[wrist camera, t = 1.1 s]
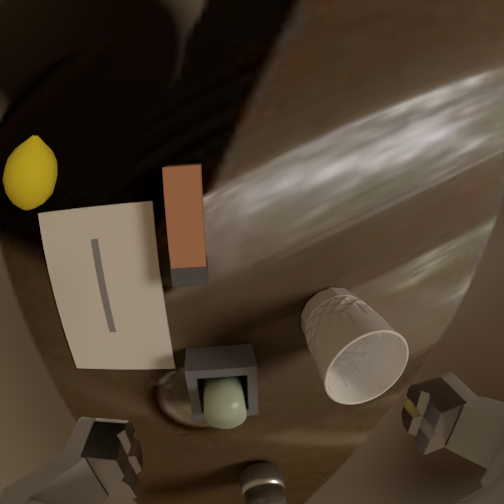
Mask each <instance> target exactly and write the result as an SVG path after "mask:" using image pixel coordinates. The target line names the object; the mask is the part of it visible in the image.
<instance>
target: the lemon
mask: <svg viewBox="0 0 504 504" xmlns="http://www.w3.org/2000/svg"><path fill="white" fill-rule="evenodd" d="M56 179H57V160H56V158H55V156H54V153H53V151H52V150H51V149H50V148H49V147H48V146H47V145H46V144H45V143H44V142H43V141H42V140H41V139H40V138H39V137H38V136H37V135H33V136H31V137H30V138H29V139H27V140H26V141H25V142H23V143H22V144H21V145H19V146H18V147H17V148H15V150H14V151H13V152H12V154H11V155H10V156H9V158H8V160H7V163H6V166H5V170H4V175H3V184H4V188H5V192H6V194H7V196H8V197H9V199H10V200H11V202H12V203H13V204H15V205H16V206H18V207H19V208H21V209H23V210H31V209H34V208H36V207H38V206H39V205H41V204H43V203H44V202H45V201H46V200H47V199H48V198H49V197H50V196H51V194H52V193H53V189H54V186H55V183H56Z"/></svg>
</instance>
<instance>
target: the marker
mask: <svg viewBox="0 0 504 504" xmlns="http://www.w3.org/2000/svg"><path fill="white" fill-rule="evenodd" d="M162 171H163V187H164V201H165V214H166V225H167V236H168V246H169V256H170V265H171V268H170V271H171V280H172V287H173V286H190V285H206V284H208V263H207V255H206V243H205V227H204V211H203V192H202V171H201V164H185V165H172V166H166V167H163V168H162Z"/></svg>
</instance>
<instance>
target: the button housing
mask: <svg viewBox="0 0 504 504" xmlns="http://www.w3.org/2000/svg"><path fill="white" fill-rule="evenodd" d="M184 373H185V378H186V383H187V389H188V394H189V399H190V404H191V409H192V413H193V418H194V419H205V418H204V389H201V382H200V378H216V377H229V376H241V375H244V382H245V386H242V389H243V395H244V401H245V407H246V413H247V416H249V415H258V370H257V362H256V358H255V354H254V350H253V345H252V344H240V345H227V346H213V347H197V348H186V355H185V368H184Z"/></svg>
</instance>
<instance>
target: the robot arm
mask: <svg viewBox="0 0 504 504" xmlns="http://www.w3.org/2000/svg"><path fill="white" fill-rule="evenodd" d="M407 397H408V398H409V400H408V402H407V403H406V404H405V405H404V407H403V411H402V421H403V425H404V427H405V429H406V430H407V432H408V433H410V434H413V435H415V441H414V442H415V443H416V444H417V446H418V447H419V449H420V450H421V452H422V453H423V454H424V455H425V454H428V453H430V452H433V451H435V450H438V449H440V448H443V447H445V446H446V448H447V449H449V450H451V451H453V452H455V453H457V454H459V455H461V456H463V457H465V458H467V459H469V460H471V461H473V462H475V463H477V464H479V465H481V466H483V467H485V468H487V469H488V470H487V472H486V473H485V475H484V476H483V478H482V480H481V483H482V485H483V486H484V487H483V488H481V489H480V490H478V491H477V492H475V493H473V494H471V495H470V496H468V497H466V498H465V499H463V500H461V501H459V502H457V503H455V504H504V402H500V401H496V400H493V399H489V398H486V397H478V396H477V395H475V394H474V393H473V392H472V391H471V390H470V389H469V388H468V387H467V386H466V385H465V384H464V383H462V382H461V381H460V380H459V379H458V378H457V377H456V376H455V375H454V374H452V373H446V374H443V375H440V376H437V377H435V378H432V379H429V380H426V381H423V382H420V383H417V384H413V385H411V386H410V388H409V389H408V392H407ZM134 432H135V429H134V427H133V424H132V422H130V421H127V420H113V419H102V418H89V417H81V418H80V419H79V420H78V422H77V424H76V426H75V428H74V431H73V433H72V435H71V437H70V439H69V442H68V444H67V446H66V449H65V451H64V453H63V454H58V455H56V456H55V457H53V458H52V459H50V460H48V461H47V462H45V463H44V464H42V465H41V466H39V467H38V468H36V469H35V470H33V471H31V472H30V473H28V474H27V475H25V476H23V477H22V478H20V479H19V480H17V481H16V482H14V483H12V484H11V485H9V486H7V487H6V488H4V489H3V491H2V493H1V496H0V504H103V503H104V502H105V501H106V500H107V499H108V498H109V496H112V497H124V498H137V494H138V488H139V482H140V481H139V479H138V477H137V475H136V474H137V473H138V472H140V471H141V470H142V464H143V453H142V448H141V445H140V442H139V440H137V439H136V438H135V437H134Z"/></svg>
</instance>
